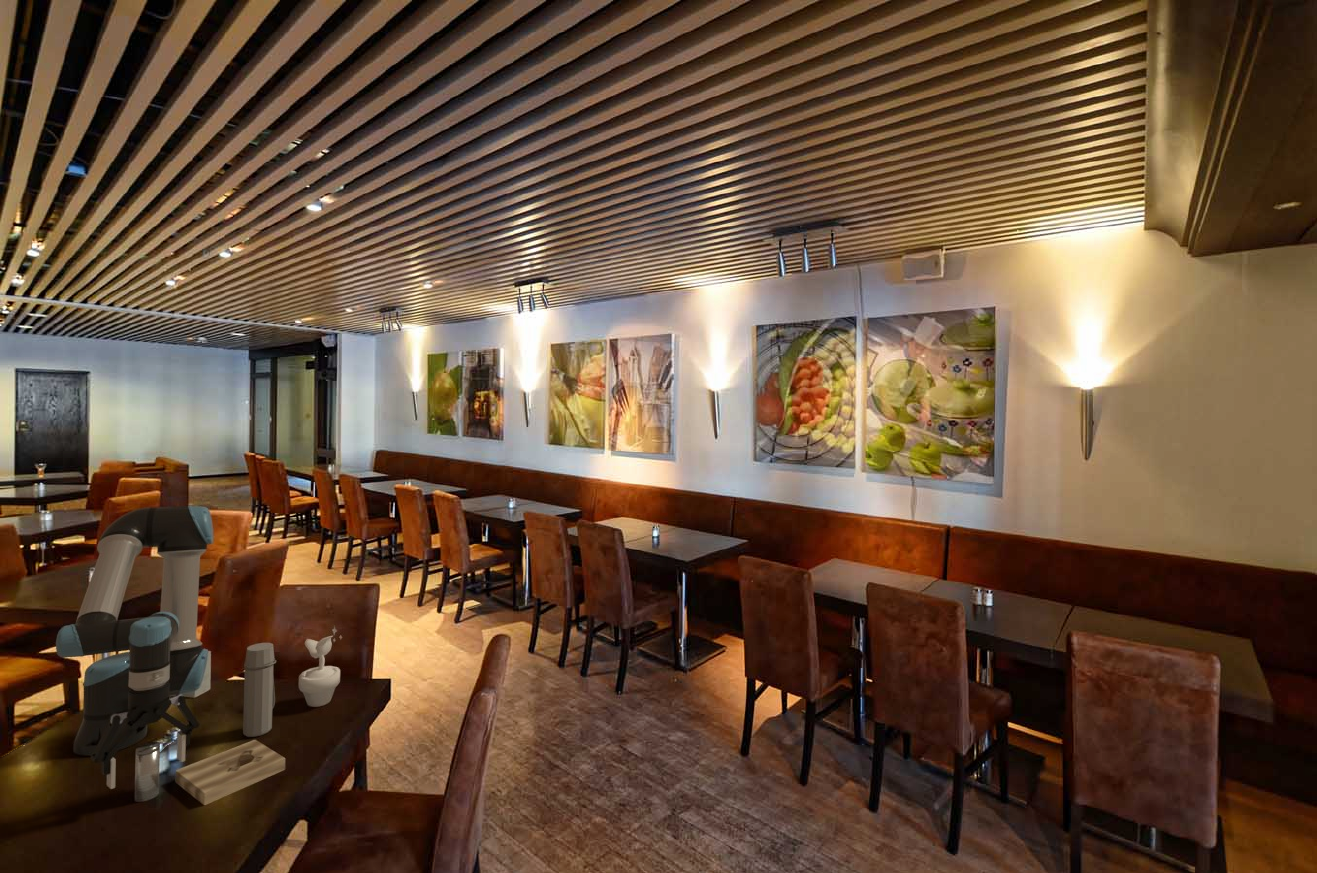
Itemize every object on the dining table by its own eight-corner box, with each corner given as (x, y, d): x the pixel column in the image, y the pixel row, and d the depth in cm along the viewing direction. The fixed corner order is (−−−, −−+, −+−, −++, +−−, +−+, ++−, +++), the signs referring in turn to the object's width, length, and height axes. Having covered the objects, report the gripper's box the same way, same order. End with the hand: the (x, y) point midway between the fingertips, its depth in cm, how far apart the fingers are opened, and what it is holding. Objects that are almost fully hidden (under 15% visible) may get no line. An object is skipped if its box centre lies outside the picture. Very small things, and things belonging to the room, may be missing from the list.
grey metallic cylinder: (131, 797, 143) (132, 747, 142) (154, 788, 146) (155, 739, 146) (138, 804, 140) (139, 753, 140) (161, 794, 144) (163, 745, 144)
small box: (210, 689, 199) (211, 650, 199) (194, 698, 193) (195, 658, 192) (188, 687, 200) (189, 649, 200) (171, 696, 193) (172, 656, 193)
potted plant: (346, 701, 194) (349, 625, 194) (310, 715, 185) (312, 634, 184) (325, 690, 201) (327, 617, 201) (289, 703, 191) (291, 626, 191)
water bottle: (258, 740, 169) (260, 652, 169) (234, 736, 171) (237, 649, 170) (284, 724, 178) (286, 641, 178) (262, 721, 180) (264, 638, 179)
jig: (175, 782, 149) (175, 770, 149) (254, 750, 164) (254, 739, 164) (204, 805, 140) (204, 793, 140) (285, 769, 156) (285, 758, 156)
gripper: (85, 708, 130) (83, 805, 131) (216, 671, 151) (214, 754, 152) (73, 699, 134) (71, 793, 135) (203, 664, 155) (201, 745, 156)
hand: (147, 772), depth 143 cm, fingers open, 13 cm apart
